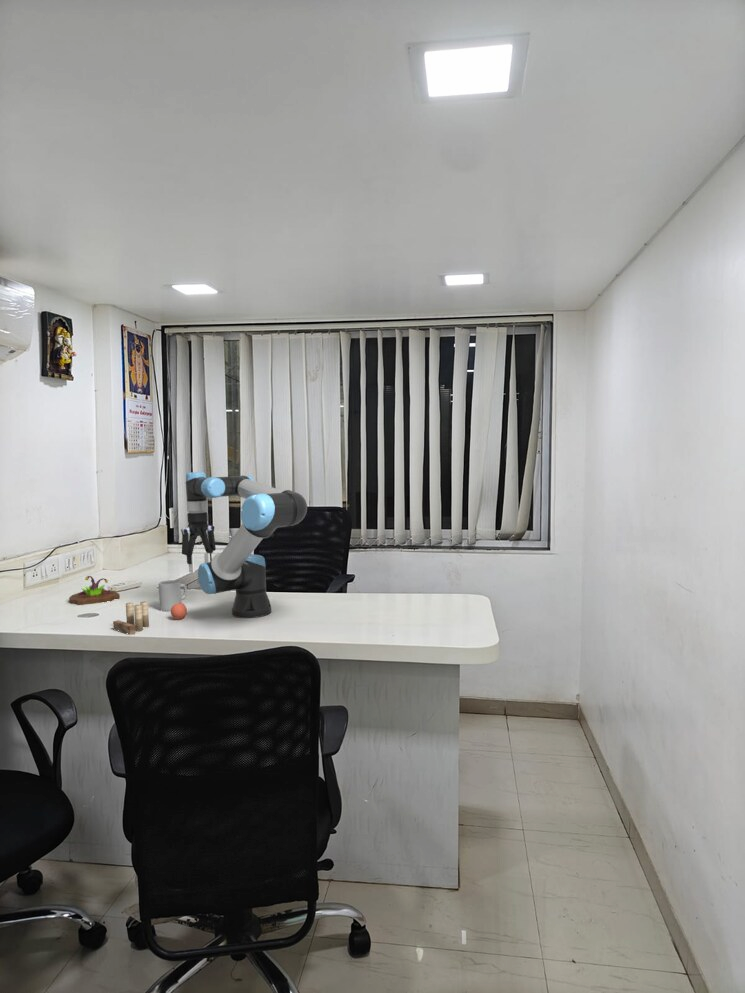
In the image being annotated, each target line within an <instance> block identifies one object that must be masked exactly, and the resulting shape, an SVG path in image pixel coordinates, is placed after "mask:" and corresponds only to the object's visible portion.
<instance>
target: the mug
mask: <svg viewBox="0 0 745 993" xmlns="http://www.w3.org/2000/svg"><path fill="white" fill-rule="evenodd" d="M181 588H183V595H182V591H181V590H182V589H181ZM187 592H188V591H187V586H186V585H185V584H184V583H181V581H180V580H173V579H172V580H163V581H160V582H158V593H159V595H158V596H159V598H158V600H159V611H161V610H162V611H161V612H171V608H172V606H173V605H175V604H177V603H182V601H183V600H186V598H187V595H188V593H187Z"/></svg>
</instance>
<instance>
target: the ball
mask: <svg viewBox="0 0 745 993" xmlns="http://www.w3.org/2000/svg"><path fill="white" fill-rule="evenodd" d="M187 613H188V608H187V606H186V605H185V604H184V603H182V602H181V603H177V604H175V605H173V606H172V608H171V611H170V614H171V616H172V617H173V618H174V619H176V620H182V619H183V618H185V617H186V616H187Z"/></svg>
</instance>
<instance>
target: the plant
mask: <svg viewBox="0 0 745 993" xmlns="http://www.w3.org/2000/svg"><path fill="white" fill-rule="evenodd" d="M84 579H85V581H88V580H89V579H91V580H90V582H91V584H90V585H89V587H88V586H85V588H83V587H82V588H81V590H82V591H80V592H77V593H74V594H72V595H70V596H69V598H68V599H69V604H71V605H75V606H76V605H77V606H85V605H92V604H100V603H101V604H103V603H102V602H104V603H108V602H107V601H110V602H113V601H115V600H114V599H118V600H120V599H121V598H120V596H121V595H120V593H118V592H117V591H116V590H111V589H109V590H108V589H105V584H106V583H108V582H109V580H108V579H107V578H104V577H103V578H99V579H98V580H97V581H95V578H93V576H91V575H87V576H86V577H85V578H84ZM103 580H104V582H105V584H102V585H101V586H99V585H100V582H101V581H103Z"/></svg>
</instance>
